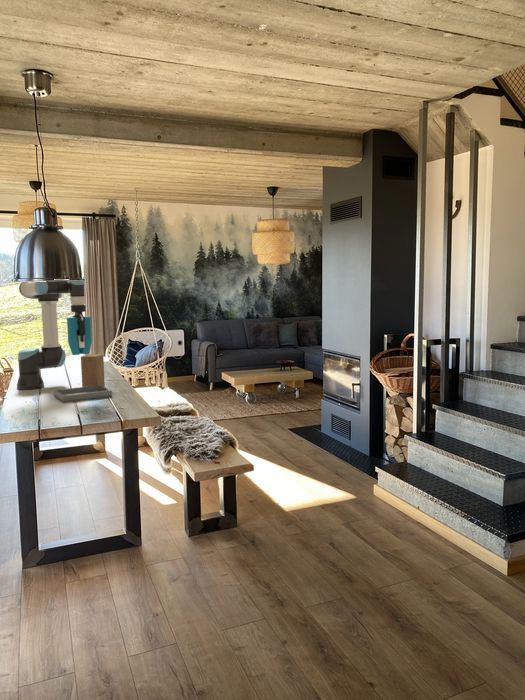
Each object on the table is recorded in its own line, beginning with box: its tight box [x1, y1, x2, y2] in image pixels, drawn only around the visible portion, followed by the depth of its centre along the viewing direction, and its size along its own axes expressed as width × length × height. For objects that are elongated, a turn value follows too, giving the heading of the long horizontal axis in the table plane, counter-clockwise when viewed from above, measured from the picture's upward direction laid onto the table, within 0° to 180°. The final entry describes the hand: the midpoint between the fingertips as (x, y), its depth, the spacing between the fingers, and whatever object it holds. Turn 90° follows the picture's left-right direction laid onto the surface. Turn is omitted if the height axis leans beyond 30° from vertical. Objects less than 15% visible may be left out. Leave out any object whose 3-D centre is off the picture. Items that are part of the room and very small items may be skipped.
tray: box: [53, 385, 113, 404], centre depth 308 cm, size 20×26×4 cm
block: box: [66, 316, 93, 356], centre depth 304 cm, size 12×5×20 cm, turn 115°
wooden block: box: [80, 353, 106, 387], centre depth 330 cm, size 10×10×20 cm
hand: (80, 347), depth 304 cm, fingers closed on block, 5 cm apart
